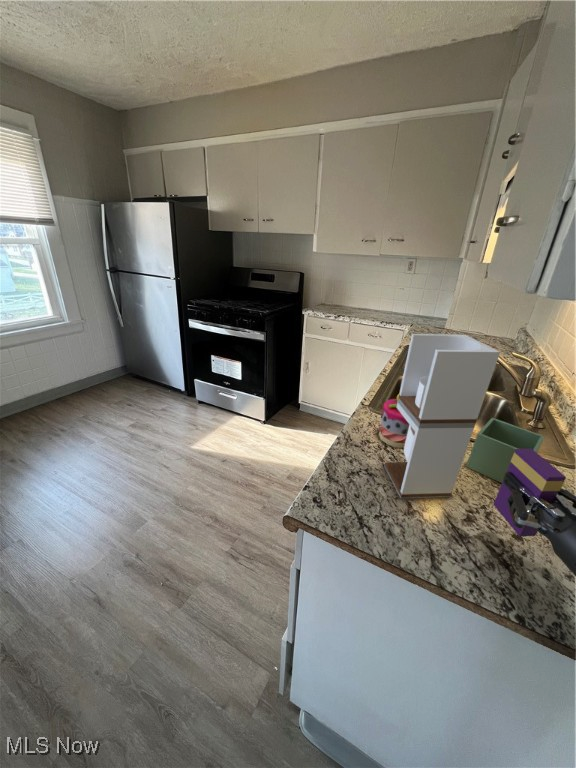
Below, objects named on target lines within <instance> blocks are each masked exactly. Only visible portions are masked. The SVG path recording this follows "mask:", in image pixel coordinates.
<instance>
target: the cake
mask: <svg viewBox="0 0 576 768" xmlns="http://www.w3.org/2000/svg"><path fill="white" fill-rule="evenodd" d="M398 398H399V393H398V394H397V396H396V398H391V399H387V400H386V401H385V402H384V403H383V406H382V410H381V415H380V419H381V421H380V422H381V424H380V425H379V426H378V428H379V433H378V437H379V438H380V440H381V441H382V442H383V443H385V444H387V445H388V446H391V447H394V448H399V449H404V446H405V441H406V437H407V433H408V429H409V425H410V424H409V423H408V422H407V421H406V419H405V418H404V417H403V415H402V414H401V413H400V411H399V410H398V409H397V403H398Z"/></svg>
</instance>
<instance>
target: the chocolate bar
mask: <svg viewBox="0 0 576 768" xmlns="http://www.w3.org/2000/svg"><path fill="white" fill-rule="evenodd" d="M507 472H512V473H513V474H514V475H515V476H516V477H517V478H518V479H519V480H520V481H521V482H522V483H523V484H524V485H525V487H526V488H527V489H528V490H530V491H531V492H532V493H533V494H534V495H536V496H537V495H539V496H541V497H542V498H544V499H545V500H546V501H547V502H548V503H550V504H551V503H552V501H553V499H554V497H555V496H556V495H557V493H558V491H560V489H562V487H563V485H564V483H565V480H566V479H567V476H566V475H564V473H562V472H561V471H559V470H558V469H557V468H556V467H554V465H552V463H550V462H549V461H547V459H545V458H543V457H542V455H540V454H539V453H538V452H537V453H536V452H535V451H534V450H533V449H516V451H515V452H514V454H513V457H512V459H511V463H510V465H509V468H508V470H507ZM510 494H511V491H510V490H509V489H508V487H507V486H506V485H505V484H504V483H503V482H502V483H501V485H500V487H499V490H498V491H497V494H496V496H495V499H494V501H493V506H494V507H495V509H496V510H497V511H498V512H499V514H500V515H501V516H502V517H503V518H504V519H505V521H506V522H507V524H509V526H510V527H511V528H512V529H513V531H514V532H515V533H516V534H517V536H518V537H536V535H537V533H539V532H538V531H537V530H536V528H533V527H530V526H526V525H524V527H523V528H518V527H516V526H515V525H514V523H513V519H512V516H511V513H510V510H509V506H508V503H507V500H508V498H509V496H510ZM525 499H526V500H527V501H528V502H529V499H528V498H527V497H526V498H525Z"/></svg>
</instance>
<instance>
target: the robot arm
mask: <svg viewBox="0 0 576 768" xmlns="http://www.w3.org/2000/svg"><path fill="white" fill-rule="evenodd" d="M503 483H504V484H505V485H506V486H507V487H508V489H509V490H510V491H511V494H510V496H509V498H508V500H507V503H508V506H509V510H510V513H511V516H512V519H513V523H514V525H515V526H516V527H518V528H523V527H524V525H526V526H530V527H533V528H536V530H537V531H538V532H537V533H539V534H540V535H542V536H544V537H545V538H546V539H547V540H548V541H549V542H550V544H551V548H552V550H553V552H554V554H555V555H556V556H557V557H558V558H559V559H560V561H561V562H562V563H563V565H565V566H566V567H567V569H568V570H569V571H570V572H571V573H572V574H573V575H574V576H575V577H576V495H575V494H573V493H571V492H569V491H568V490H566V489H564V488H561V489H560V491H558V493H557V495H556V496H555V497H554V499H553V501H552V503H551V504H550V503H548V502H547V501H546V500H545V499H544V498H542V497H541V496H539V495H537V496H536V495H534V494H533V493H532V492H531V491H530V490H528V489H527V488H526V487H525V485H524V484H523V483H522V482H521V481H520V480H519V479H518V478H517V477H516V476H515V475H514V474H513V473H512V472H506V473H505V476H504V478H503ZM526 497H527V498H528V499H529V502H528V501H527V500H526V499H525V498H526ZM569 501H570V502H572V504H571V503H570V502H569Z"/></svg>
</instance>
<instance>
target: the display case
mask: <svg viewBox="0 0 576 768" xmlns="http://www.w3.org/2000/svg"><path fill="white" fill-rule="evenodd" d="M500 354H501V351H499V350H497V349H495V348H493V347H491V346H489V345H487V344H485V343H483V342H481V341H480V340H477V339H475V338H473V337H471V336H469V335H467V334H454V333H453V334H451V333H450V334H449V333H447V334H446V333H444V334H443V333H440V334H439V333H438V334H437V333H436V334H435V333H411V335H410V340H409V346H408V351H407V356H406V361H405V365H404V369H403V373H402V374H403V375H402V379H401V383H400V389H399V393H398V394H399V398H398V403H397V409H398V410H399V411H400V413H401V414H402V415H403V417H404V418H405V419H406V421H407V422H408V423H409V424H410V425H409V429H408V433H407V437H406V441H405V446H404V448H403V455H404V458H405V460H406V461H391V462H390V461H387V462H386V461H385V462H384V465H383V467H384V469H385V471H386V473H387V475H388V477H389V478H390V481H391V483H392V484H393V486H394V488H395V491H396V492H397V494H398V496H399V498H400V499H401V500H402V499H434V498H438V499H439V498H451V497H452V494H453V491H454V489H455V485H456V483H457V480H458V476H459V473H460V470H461V468H462V465H463V461H464V459H465V456H466V453H467V450H468V447H469V444H470V442H471V438H472V435H473V433H474V430H475V427H476V424H477V421H478V418H479V415H480V412H481V409H482V406H483V404H484V400H485V398H486V395H487V392H488V389H489V386H490V383H491V380H492V378H493V377H492V376H493V374H494V372H495V369H496V366H497V363H498V359H499V357H500Z"/></svg>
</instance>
